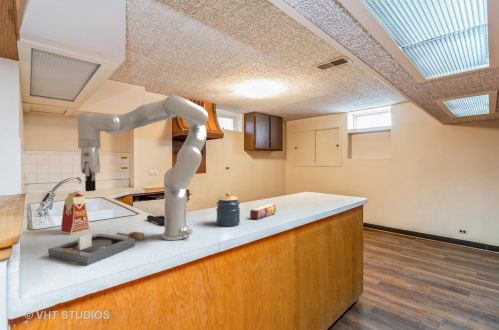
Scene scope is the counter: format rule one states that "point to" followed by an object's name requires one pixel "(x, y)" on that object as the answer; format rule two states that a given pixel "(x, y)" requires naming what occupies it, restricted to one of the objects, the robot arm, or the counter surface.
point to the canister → (228, 211)
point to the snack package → (262, 211)
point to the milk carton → (74, 215)
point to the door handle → (157, 219)
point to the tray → (71, 255)
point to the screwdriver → (134, 235)
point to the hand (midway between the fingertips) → (90, 190)
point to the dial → (91, 244)
